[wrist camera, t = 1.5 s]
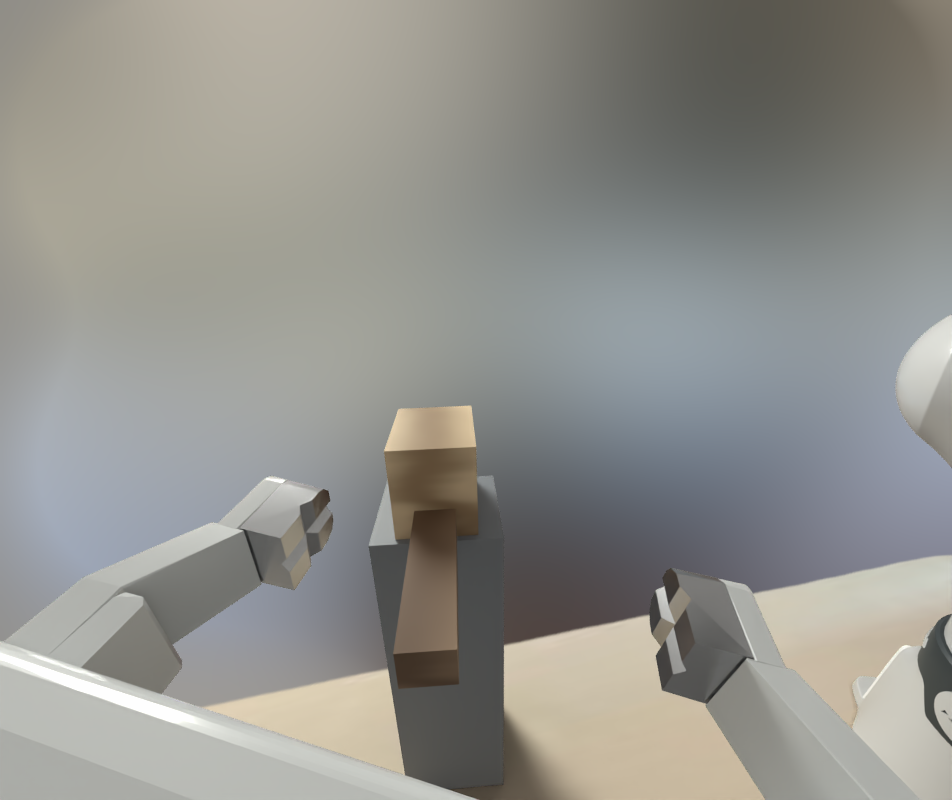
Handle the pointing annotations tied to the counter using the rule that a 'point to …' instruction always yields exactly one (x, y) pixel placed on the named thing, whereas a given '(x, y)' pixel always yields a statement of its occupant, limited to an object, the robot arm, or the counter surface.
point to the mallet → (431, 535)
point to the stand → (480, 656)
